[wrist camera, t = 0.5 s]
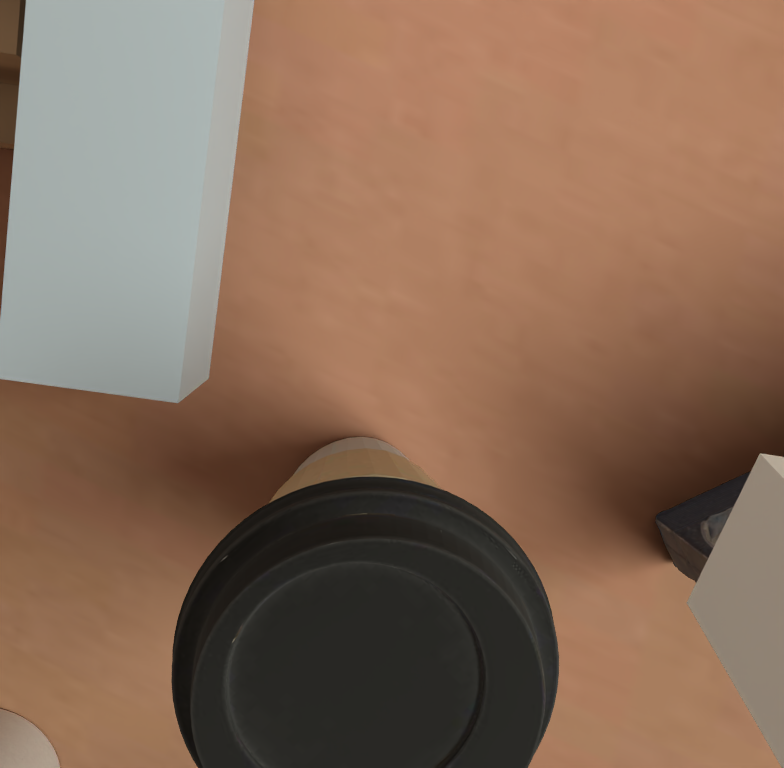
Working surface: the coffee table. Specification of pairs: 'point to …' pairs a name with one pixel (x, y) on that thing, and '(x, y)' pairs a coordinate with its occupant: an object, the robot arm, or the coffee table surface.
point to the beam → (121, 192)
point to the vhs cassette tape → (698, 525)
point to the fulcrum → (10, 66)
